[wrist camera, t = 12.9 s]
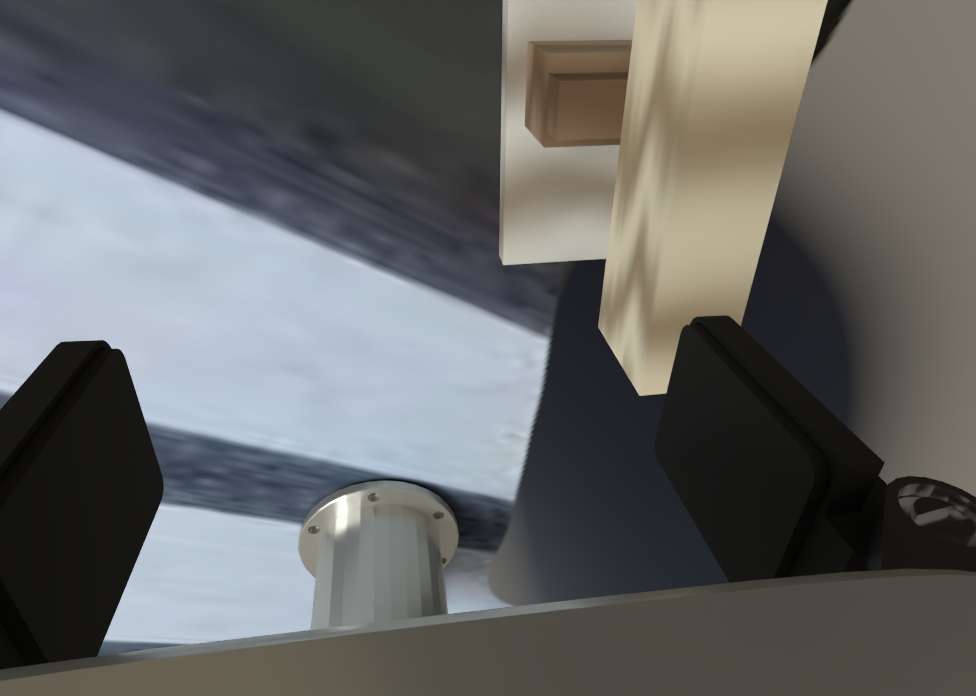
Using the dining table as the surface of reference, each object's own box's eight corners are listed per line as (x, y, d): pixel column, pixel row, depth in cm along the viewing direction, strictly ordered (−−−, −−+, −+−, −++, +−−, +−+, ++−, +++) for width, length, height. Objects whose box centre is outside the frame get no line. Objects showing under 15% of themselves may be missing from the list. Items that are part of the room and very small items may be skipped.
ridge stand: (682, 243, 39) (745, 302, 32) (499, 254, 37) (525, 318, 31) (758, -158, 28) (876, -193, 22) (505, -165, 27) (547, -206, 20)
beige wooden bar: (670, 321, 32) (724, 387, 27) (598, 327, 32) (639, 395, 27) (779, -243, 20) (909, -308, 15) (666, -249, 20) (764, -319, 15)
